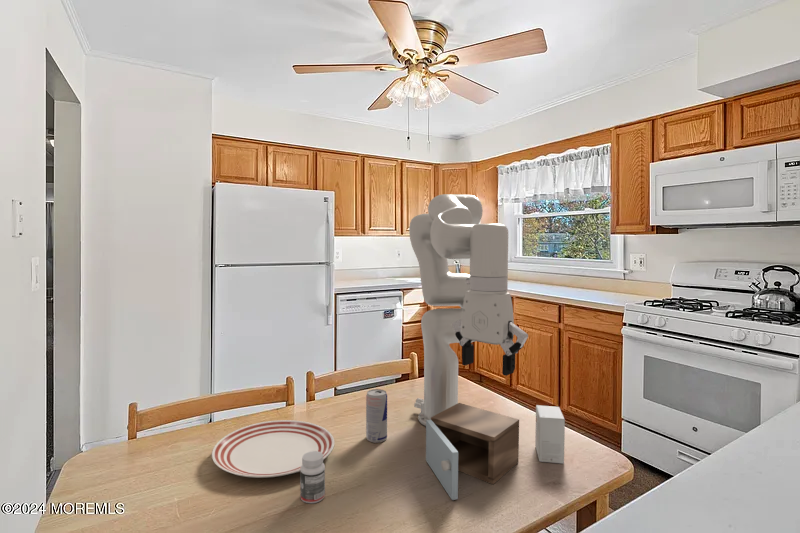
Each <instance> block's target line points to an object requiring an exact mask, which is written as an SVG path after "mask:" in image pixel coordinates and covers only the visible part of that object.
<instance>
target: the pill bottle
mask: <svg viewBox="0 0 800 533" xmlns="http://www.w3.org/2000/svg"><path fill="white" fill-rule="evenodd" d="M325 467H326V466H325V463H324V460H323V454H322V453H321V452H318V451H312V452H308V453H305V454H304V455H303V457H302V465H301V468H300V471H299V473H300V474H299V477H300V478H299V479H300V480H299V484H300V486H299V487H300V490H299V491H300V495H299V496H300V499H301V501H302V502H303V503H306V504H316V503H319V502H321V501H322V500H323V499H324V498H325V497H326V496H325V495H326V474H325V473H326V468H325Z"/></svg>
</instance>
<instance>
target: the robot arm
mask: <svg viewBox="0 0 800 533" xmlns="http://www.w3.org/2000/svg"><path fill="white" fill-rule="evenodd" d="M427 212H428V213H421V214H417V215H414V217H413V218H411V220H410V223H409V229H408V230H409V231H408V232H409V233H408V234H409V240H410V244H411V247H412V250H413V252H414V255H415V257H416V259H417V262H418V266H419V267H418V268H419V275H420V284H421V290H422V292H421V293H422V297H423V300H424V303H426V305H428V306H433V307H448V308H434V309H430V310H427V311H425V312H424V314H422V316H421V318H420V319H421V321H420V327H421V335H422V341H423V342H422V343H423V353H424V354H423V356H424V357H423V358H424V359H423V369H424V371H423V375H424V376H423V378H424V380H423V398H420V397H417V398H416V399H415V402H414V404H413V406H414V408H417V409H420V412H419V413H418V417H417V418H418V421H419V423H420V424H421V425H422V426H425V427H426V420H431V417H433V416H434V415H436V414H438V413H440V412H442V411H444V410H446V409H448V408H450V407H452V406H454V405H456V404H458V403H459V357H458V356H457V353H456V352H455V351H454V350H453V348H452V347H451V346H450V344H455V343H457V344H459V346H460V347H461V361H462V362H461V363H462V364H461V365H463V366H469V365H473V364H474V360H475V358H474V357H475V356H474V355H475V354H474V353H475V346H474V343H473V342H477V343H478V342H479V343H484V344H489V345H494V346H497V345H498V346H500V348H502V350H503V352H504V354H503V355H502V368H501V370H502V375H503V376H509V375H511V374H514V372H515V369H516V354H518V353H519V351H520V350H522V349H523V348H524V347H525V343H526V341H527V339H528V338H529V334H528V332H525V331H524V330H523V329H521V328H520V327H519V326H518V325H516V324H515V321H514V309H513V308H514V307H513V301H512V296H511V293H510V292H508V289H509V288H508V284H509V281H508V280H509V279H508V274H509V229H508V227H507V226H506V225H505V224H502V223H480V222H481V220H482V217H483V204H482V202H481V200H480V199H479V198H478V197H476V195H473V194H456V193H455V194H452V193H449V194H447V193H446V194H445V193H443V194H438V195H436V196H434V197H433V198H432V199H431V200H430V201H429V203H428V206H427ZM448 259H449V260H458V259H459V260H460V259H461V260H463V259H465V260H466V259H469V274H468V273H464V272H463V273H461V272H460V273H459V272H457V273H456V272H451V271H450V269H449V262H448ZM457 306H458V307H459V308H454V307H457ZM449 307H450V308H449ZM451 307H452V308H451ZM514 335H515V336H516V341H515V342H514V341H513V340H514Z"/></svg>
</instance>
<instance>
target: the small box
mask: <svg viewBox="0 0 800 533" xmlns="http://www.w3.org/2000/svg"><path fill="white" fill-rule="evenodd" d="M565 420H566V419H565V417H564V415H563V412H562V410H561V408H560V406H549V405H539V404H536V406H535V441H534V442H535V450H536V454H537V458H538V462H541V463H553V464H562V465H563V464H565V438H566V437H565V436H566V435H565V430H566V428H565V426H566V424H565V423H566V421H565Z"/></svg>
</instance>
